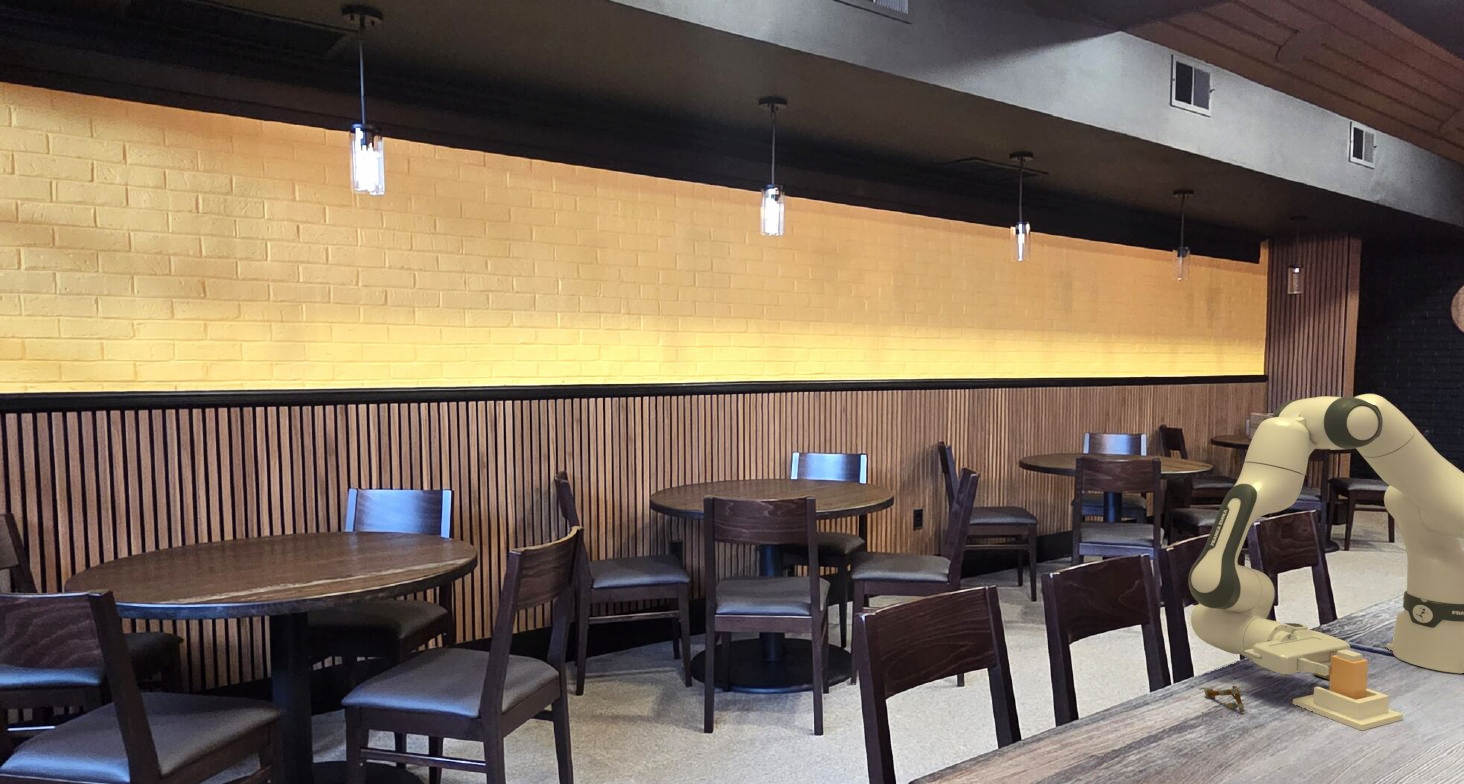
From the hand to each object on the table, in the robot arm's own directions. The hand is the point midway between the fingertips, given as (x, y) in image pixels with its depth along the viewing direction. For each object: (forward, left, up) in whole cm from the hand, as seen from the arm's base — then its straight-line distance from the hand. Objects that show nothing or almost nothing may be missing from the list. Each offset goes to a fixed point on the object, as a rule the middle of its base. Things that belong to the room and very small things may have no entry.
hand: (1345, 667), depth 158 cm
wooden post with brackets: (+18, -10, -8) cm, 22 cm away
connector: (0, 0, -7) cm, 7 cm away
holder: (0, 0, -8) cm, 8 cm away
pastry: (-17, -11, -8) cm, 23 cm away
